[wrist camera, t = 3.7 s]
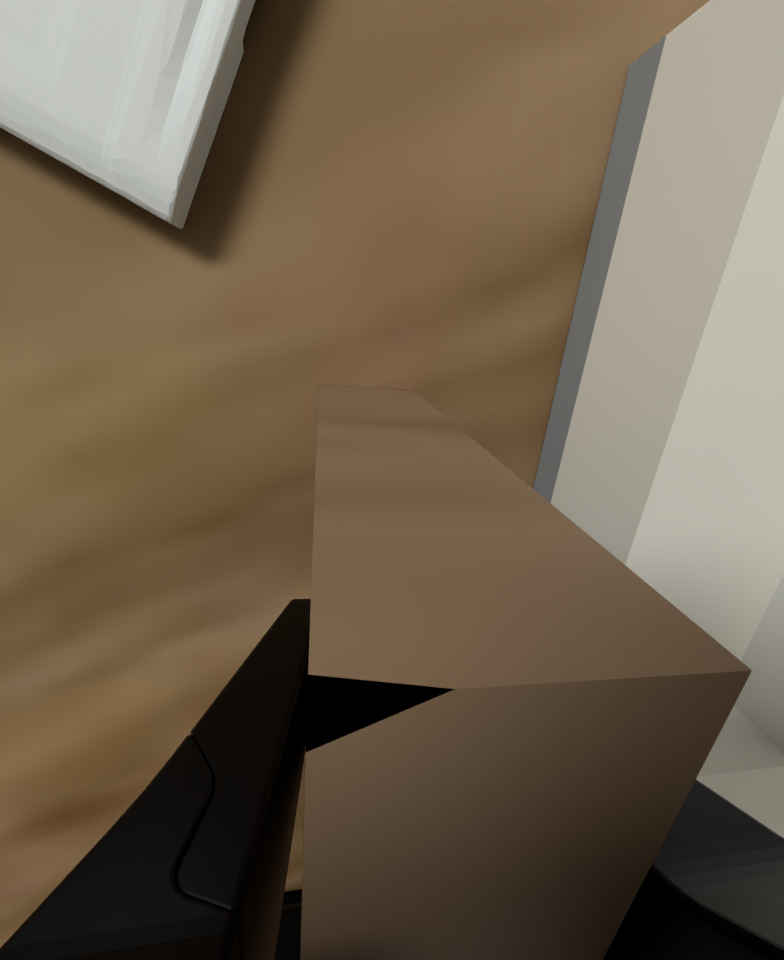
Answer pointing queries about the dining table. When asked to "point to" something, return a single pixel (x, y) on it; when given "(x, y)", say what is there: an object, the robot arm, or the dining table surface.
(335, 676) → the walnut plate
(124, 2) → the external hard drive
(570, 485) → the slotted board
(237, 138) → the dining table surface
